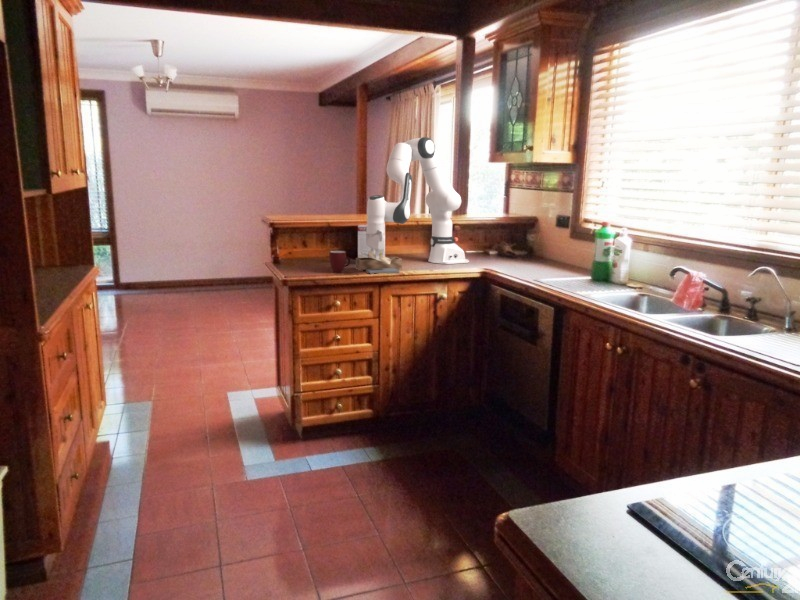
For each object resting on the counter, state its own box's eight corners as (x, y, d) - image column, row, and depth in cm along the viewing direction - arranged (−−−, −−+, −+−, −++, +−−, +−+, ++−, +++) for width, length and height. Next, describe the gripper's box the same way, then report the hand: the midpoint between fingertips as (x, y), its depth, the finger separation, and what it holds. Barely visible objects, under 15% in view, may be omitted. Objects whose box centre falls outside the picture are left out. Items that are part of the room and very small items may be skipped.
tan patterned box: (396, 267, 319) (397, 256, 318) (401, 269, 311) (402, 258, 310) (355, 268, 312) (355, 257, 311) (359, 271, 305) (359, 260, 303)
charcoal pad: (394, 270, 309) (394, 268, 308) (399, 273, 302) (399, 270, 301) (365, 271, 304) (365, 269, 304) (369, 274, 297) (369, 271, 297)
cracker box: (385, 263, 330) (385, 224, 326) (383, 265, 324) (384, 225, 320) (359, 262, 331) (359, 223, 327) (357, 264, 325) (357, 224, 321)
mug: (344, 269, 308) (344, 250, 306) (353, 272, 301) (353, 251, 299) (326, 271, 301) (326, 251, 299) (335, 274, 295) (335, 253, 293)
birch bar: (387, 263, 305) (388, 258, 305) (389, 264, 301) (391, 259, 300) (367, 255, 301) (368, 251, 301) (369, 257, 297) (371, 252, 296)
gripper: (388, 231, 288) (387, 260, 291) (376, 227, 307) (375, 254, 310) (375, 231, 286) (375, 261, 289) (363, 227, 305) (363, 255, 308)
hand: (375, 257), depth 300 cm, fingers closed on birch bar, 4 cm apart
